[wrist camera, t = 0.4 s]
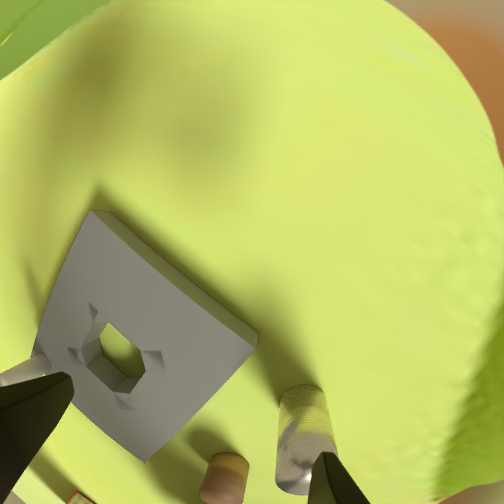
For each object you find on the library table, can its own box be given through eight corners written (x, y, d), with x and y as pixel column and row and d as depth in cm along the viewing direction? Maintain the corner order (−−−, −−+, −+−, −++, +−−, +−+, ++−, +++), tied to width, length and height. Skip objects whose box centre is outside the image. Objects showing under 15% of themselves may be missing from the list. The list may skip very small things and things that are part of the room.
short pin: (234, 480, 23) (226, 512, 18) (203, 463, 23) (191, 495, 18) (257, 464, 23) (251, 499, 18) (224, 446, 23) (213, 481, 18)
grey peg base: (155, 446, 24) (120, 500, 15) (47, 348, 25) (-8, 376, 16) (259, 333, 22) (244, 394, 13) (110, 211, 22) (35, 205, 13)
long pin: (304, 427, 22) (309, 501, 13) (270, 407, 22) (261, 481, 13) (335, 399, 21) (354, 471, 12) (300, 376, 22) (306, 449, 13)
